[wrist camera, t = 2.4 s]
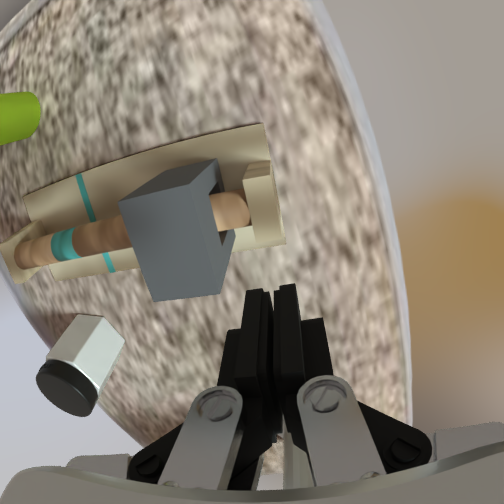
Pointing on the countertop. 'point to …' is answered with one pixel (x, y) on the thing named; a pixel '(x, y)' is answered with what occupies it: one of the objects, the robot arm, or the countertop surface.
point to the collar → (179, 232)
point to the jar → (80, 364)
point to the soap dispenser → (18, 116)
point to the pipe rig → (126, 181)
